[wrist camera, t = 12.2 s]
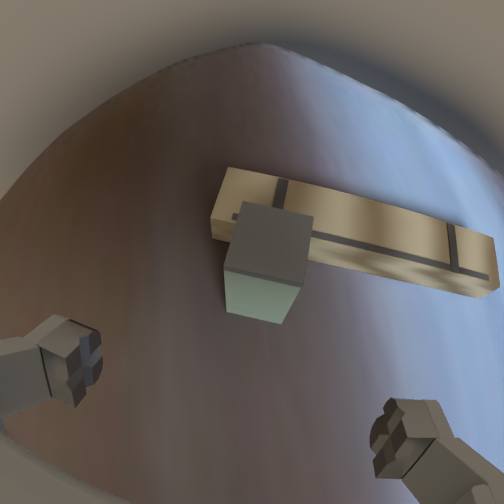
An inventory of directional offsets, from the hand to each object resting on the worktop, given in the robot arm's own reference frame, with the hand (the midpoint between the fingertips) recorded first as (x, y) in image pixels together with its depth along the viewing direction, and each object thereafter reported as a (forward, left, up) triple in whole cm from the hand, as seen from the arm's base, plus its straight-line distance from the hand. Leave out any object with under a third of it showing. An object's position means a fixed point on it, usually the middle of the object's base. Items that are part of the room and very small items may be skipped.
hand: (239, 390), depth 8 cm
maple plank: (-8, -14, -14) cm, 21 cm away
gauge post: (0, -8, -14) cm, 16 cm away
